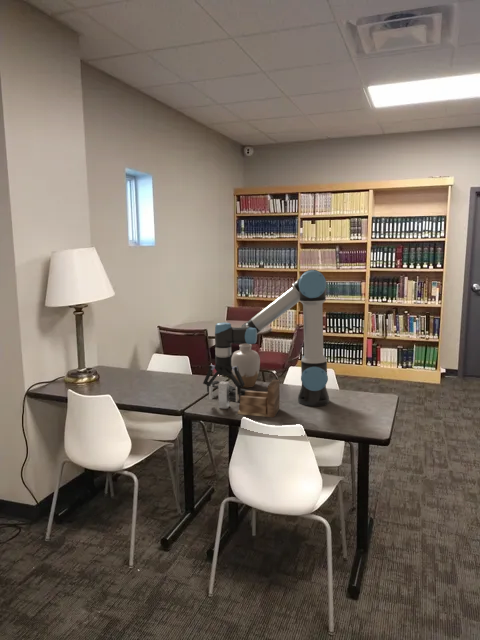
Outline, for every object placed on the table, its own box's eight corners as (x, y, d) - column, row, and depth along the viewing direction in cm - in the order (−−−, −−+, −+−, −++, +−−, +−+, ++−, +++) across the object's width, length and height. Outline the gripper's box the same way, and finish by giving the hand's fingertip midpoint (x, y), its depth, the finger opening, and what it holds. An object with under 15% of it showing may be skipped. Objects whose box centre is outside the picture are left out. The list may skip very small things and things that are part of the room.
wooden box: (279, 408, 223) (279, 379, 221) (274, 417, 211) (274, 386, 209) (244, 405, 227) (244, 377, 225) (237, 414, 216) (237, 384, 214)
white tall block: (229, 406, 227) (229, 381, 226) (226, 408, 224) (226, 384, 222) (221, 405, 228) (221, 381, 227) (218, 408, 225) (218, 383, 223)
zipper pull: (216, 379, 250) (257, 386, 237) (216, 392, 251) (257, 399, 238) (206, 383, 243) (247, 391, 229) (206, 396, 244) (247, 404, 230)
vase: (262, 388, 257) (262, 346, 254) (234, 390, 254) (233, 348, 251) (256, 380, 272) (256, 341, 269) (229, 382, 269) (228, 342, 266)
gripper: (250, 355, 223) (251, 399, 226) (201, 352, 229) (202, 395, 232) (246, 358, 216) (246, 404, 219) (195, 355, 222) (196, 400, 225)
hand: (223, 399), depth 225 cm, fingers open, 12 cm apart
